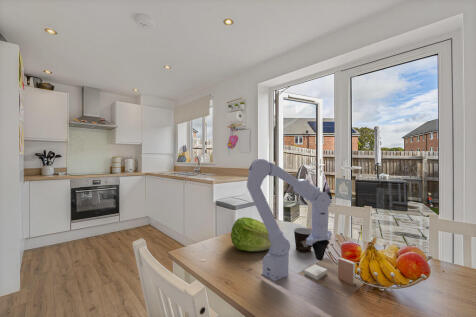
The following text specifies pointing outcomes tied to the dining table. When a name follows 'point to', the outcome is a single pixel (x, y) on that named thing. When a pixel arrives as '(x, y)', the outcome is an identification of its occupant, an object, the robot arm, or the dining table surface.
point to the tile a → (315, 272)
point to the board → (334, 279)
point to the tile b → (346, 270)
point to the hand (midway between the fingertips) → (319, 259)
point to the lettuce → (250, 235)
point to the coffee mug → (302, 239)
